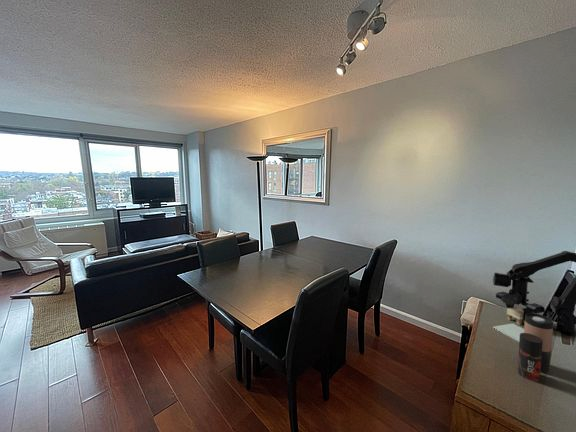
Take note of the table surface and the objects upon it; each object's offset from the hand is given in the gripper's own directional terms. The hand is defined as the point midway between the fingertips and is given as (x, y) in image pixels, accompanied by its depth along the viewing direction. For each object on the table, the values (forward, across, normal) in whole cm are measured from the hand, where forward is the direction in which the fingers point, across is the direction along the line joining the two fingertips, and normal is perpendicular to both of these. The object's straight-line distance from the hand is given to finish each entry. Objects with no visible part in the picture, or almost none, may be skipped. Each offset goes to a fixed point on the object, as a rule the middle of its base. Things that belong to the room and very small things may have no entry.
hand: (517, 317), depth 123 cm
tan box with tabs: (+2, 0, 0) cm, 2 cm away
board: (+2, +8, -12) cm, 15 cm away
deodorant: (+2, +29, -36) cm, 46 cm away
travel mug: (+2, +26, -28) cm, 38 cm away
